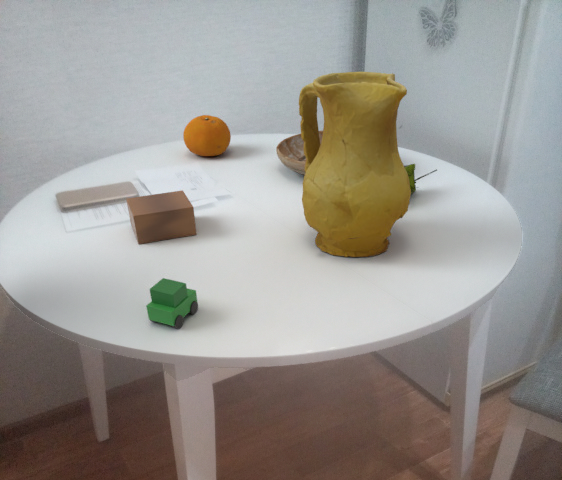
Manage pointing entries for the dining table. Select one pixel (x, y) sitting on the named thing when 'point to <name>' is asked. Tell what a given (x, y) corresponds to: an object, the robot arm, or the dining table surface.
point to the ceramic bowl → (293, 153)
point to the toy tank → (412, 180)
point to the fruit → (207, 136)
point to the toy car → (171, 302)
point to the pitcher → (353, 162)
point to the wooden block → (161, 216)
